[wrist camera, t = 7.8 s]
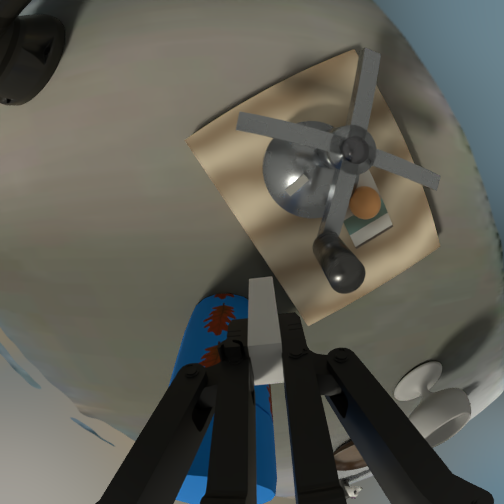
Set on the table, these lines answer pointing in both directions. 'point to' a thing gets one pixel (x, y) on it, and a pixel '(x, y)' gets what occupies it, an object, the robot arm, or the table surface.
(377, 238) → the stand base
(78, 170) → the table surface
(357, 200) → the ball
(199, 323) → the thermos
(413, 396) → the chalice
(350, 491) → the giant panda
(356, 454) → the plant saucer
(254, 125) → the grey cross
